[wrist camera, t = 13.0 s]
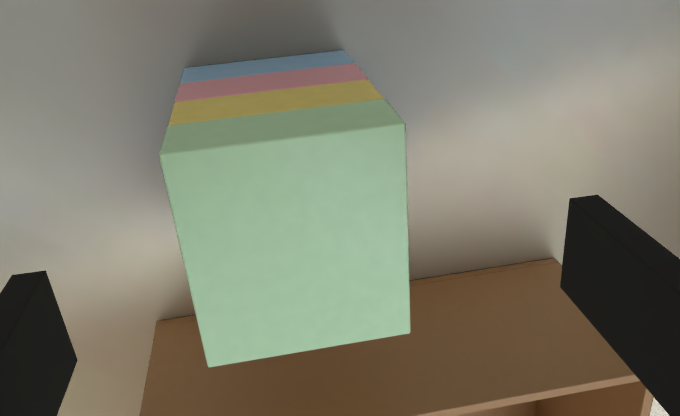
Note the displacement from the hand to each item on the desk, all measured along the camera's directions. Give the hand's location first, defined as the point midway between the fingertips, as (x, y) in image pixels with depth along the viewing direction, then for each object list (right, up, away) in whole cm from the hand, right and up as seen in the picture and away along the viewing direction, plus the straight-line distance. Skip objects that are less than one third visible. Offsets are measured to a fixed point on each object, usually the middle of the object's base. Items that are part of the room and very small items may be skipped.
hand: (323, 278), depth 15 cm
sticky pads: (-2, +4, +8) cm, 10 cm away
